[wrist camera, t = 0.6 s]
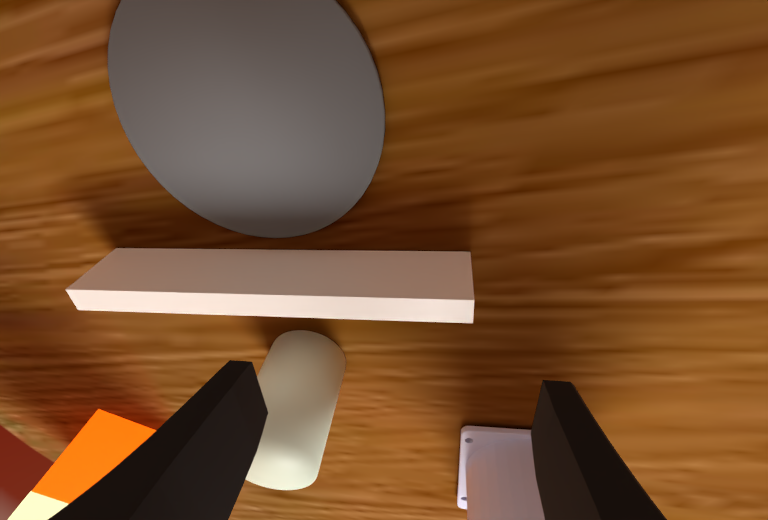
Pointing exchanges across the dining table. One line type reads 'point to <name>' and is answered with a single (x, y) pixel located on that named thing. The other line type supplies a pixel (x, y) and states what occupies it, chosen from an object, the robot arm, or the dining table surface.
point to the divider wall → (282, 283)
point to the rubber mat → (250, 108)
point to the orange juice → (83, 464)
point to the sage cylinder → (296, 408)
